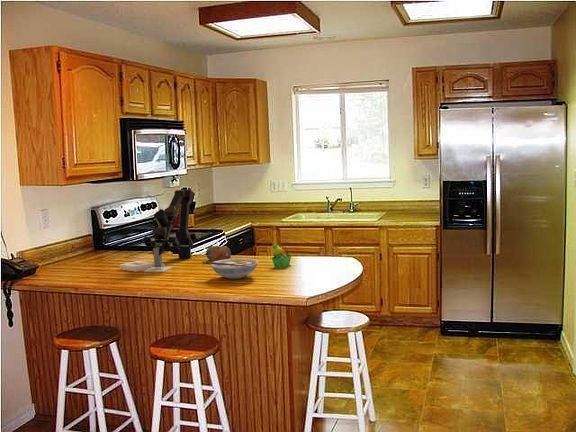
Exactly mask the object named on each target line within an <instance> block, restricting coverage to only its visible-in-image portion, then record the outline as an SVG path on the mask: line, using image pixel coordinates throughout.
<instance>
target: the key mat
mask: <svg viewBox="0 0 576 432" xmlns="http://www.w3.org/2000/svg"><path fill="white" fill-rule="evenodd" d="M173 268H174V267H173V266H165V267H160V268H156V267H151V268H149V269H145V270H143V272H144V273H165V272H168V271H169V270H171V269H173Z"/></svg>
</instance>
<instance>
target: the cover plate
mask: <svg viewBox="0 0 576 432" xmlns="http://www.w3.org/2000/svg"><path fill="white" fill-rule="evenodd" d="M152 264H154V262H150V261H143V260H137V261H131V262H125V263H122V264H121V263H120V264H119V268H120V270H123V271H129V272H130V271H131V272H141V271H144V270H147V269H149V268H151V267H152Z"/></svg>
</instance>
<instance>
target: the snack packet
mask: <svg viewBox="0 0 576 432" xmlns="http://www.w3.org/2000/svg"><path fill="white" fill-rule="evenodd" d="M205 253H206V257H207V259H208V260H209V262H215V261H219V260H225V259H231V256H232V251H231V249H230V248H229V247H228V246H226V245H225V246H224V245H223V246H222V245H221V246H218V245H211V246H208V247H207V249H206V252H205Z"/></svg>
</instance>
